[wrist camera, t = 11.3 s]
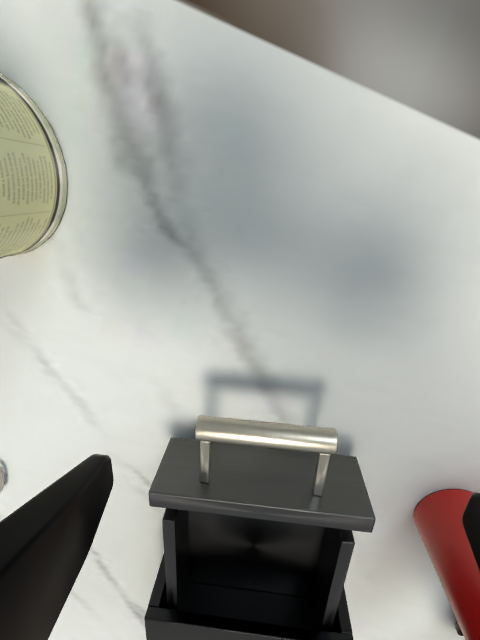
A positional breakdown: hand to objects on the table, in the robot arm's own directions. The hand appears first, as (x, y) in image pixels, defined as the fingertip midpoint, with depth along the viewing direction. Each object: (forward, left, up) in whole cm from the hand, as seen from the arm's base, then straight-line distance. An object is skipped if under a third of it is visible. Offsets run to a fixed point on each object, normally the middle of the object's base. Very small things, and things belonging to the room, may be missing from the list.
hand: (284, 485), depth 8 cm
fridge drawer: (0, +16, -13) cm, 20 cm away
